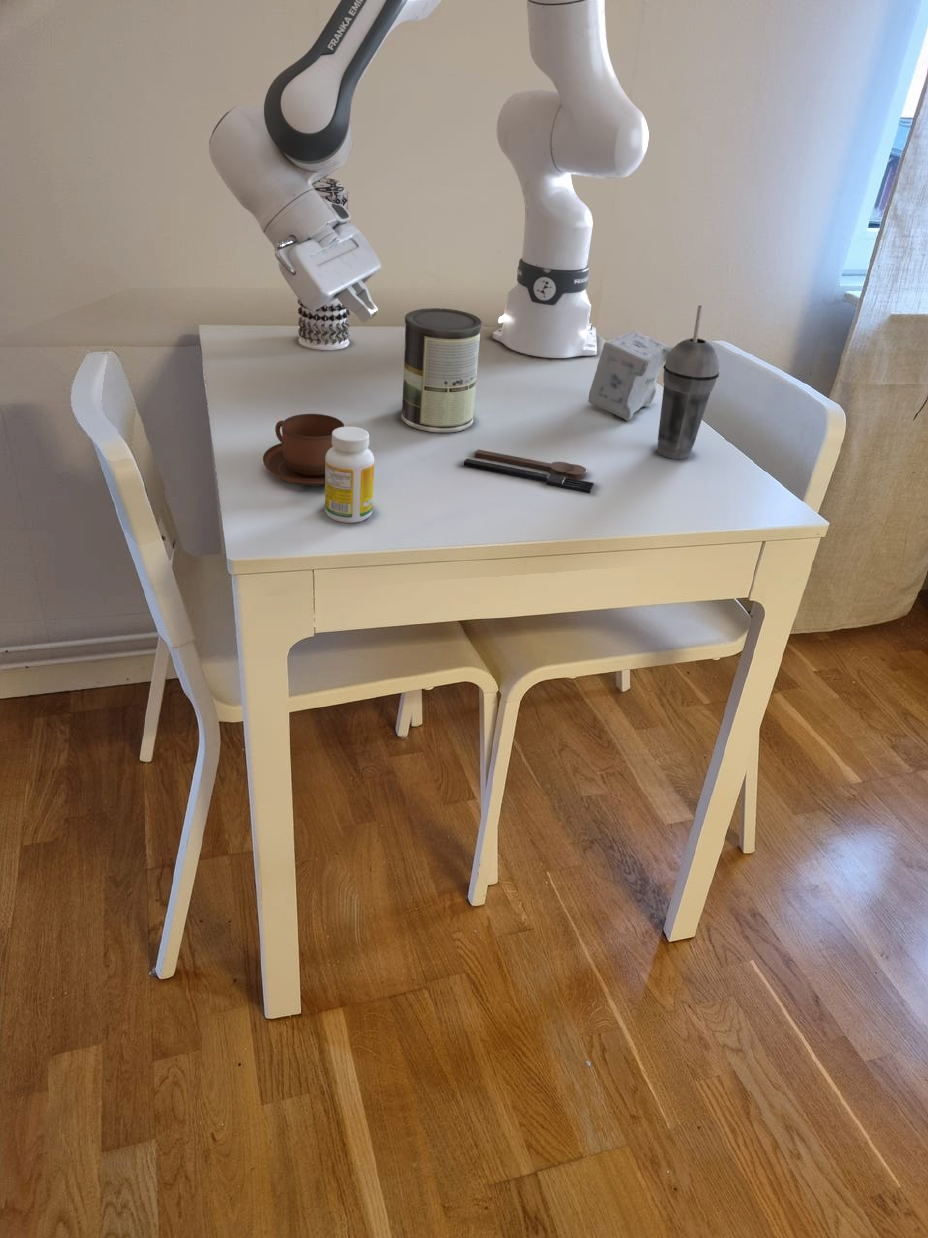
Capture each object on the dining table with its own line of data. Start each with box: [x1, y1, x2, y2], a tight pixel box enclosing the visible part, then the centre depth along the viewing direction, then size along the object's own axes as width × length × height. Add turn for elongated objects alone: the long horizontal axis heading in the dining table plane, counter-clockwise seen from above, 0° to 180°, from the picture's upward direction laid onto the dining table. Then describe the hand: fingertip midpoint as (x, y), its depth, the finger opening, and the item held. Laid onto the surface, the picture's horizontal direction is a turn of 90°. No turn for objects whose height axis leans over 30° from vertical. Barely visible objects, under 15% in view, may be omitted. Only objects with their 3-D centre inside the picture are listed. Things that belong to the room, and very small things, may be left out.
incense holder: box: [587, 329, 674, 422], centre depth 139 cm, size 10×8×10 cm
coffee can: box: [400, 307, 483, 434], centre depth 128 cm, size 10×10×14 cm
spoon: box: [474, 448, 588, 480], centre depth 120 cm, size 3×15×1 cm, turn 73°
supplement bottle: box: [324, 426, 375, 524], centre depth 103 cm, size 5×5×10 cm
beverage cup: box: [656, 305, 720, 460], centre depth 123 cm, size 7×7×20 cm
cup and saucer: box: [262, 413, 345, 486], centre depth 112 cm, size 12×12×6 cm
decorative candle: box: [297, 177, 352, 351], centre depth 150 cm, size 9×9×25 cm
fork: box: [463, 458, 594, 494], centre depth 118 cm, size 2×17×1 cm, turn 73°
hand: (371, 317), depth 127 cm, fingers closed
